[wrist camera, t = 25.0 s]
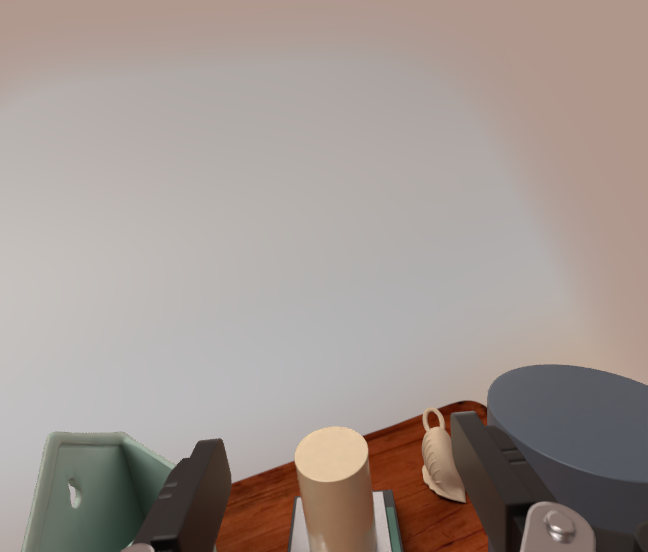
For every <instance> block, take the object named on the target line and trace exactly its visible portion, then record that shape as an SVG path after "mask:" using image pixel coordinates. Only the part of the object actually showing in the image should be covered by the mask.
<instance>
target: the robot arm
mask: <svg viewBox="0 0 648 552" xmlns="http://www.w3.org/2000/svg"><path fill="white" fill-rule="evenodd" d="M451 441H452V455H453V460H454V464H455V467H456V470H457V472H458V474H459V476H460V478H461V480H462V483H463V485H464V487H465V489H466V491H467V493H468V495H469V498H470V500H471V502H472V504H473V506H474V508H475V510H476V512H477V515H478V517H479V519H480V521H481V523H482V525H483V527H484V530H485V532H486V534H487V536H488V538H489V540H490V542H491V544H492V547H493V549H494V551H495V552H648V520H647V521H643V522H641V523H639V524H638V525H637V526H636V529H635V534H634V535H632V534H626V533H621V532H616V531H611V530H605V529H601V528H597V527H594V526H591V525H589V524H588V522H587V521H586V520H585V519H584V518H583V517H582V516H581V515H579V514H578V513H577V512H575V511H574V510H572V509H570V508H568V507H566V506H564V505H561V504H559V503H558V502H557V500H556V499H555V498H554V496H553V495H552V494H551V492H550V491H549V490H548V488H547V487H546V485H545V484H544V483H543V481H542V480H541V479H540V477H539V476H538V475H537V473H536V472H535V471H534V469H533V468H532V467H531V465H530V464H529V463H528V461H526V459H525V457H524V456H523V454H522V453H521V452H520V450H518V448H517V446H516V445H515V444H514V442H513V441H512V440H511V438H510V437H509V436H508V435H507V434H506V433H505V432H503V431H502V430H500V429H499V428H497V427H496V426H495V425H489V426H484V424H483V423H482V421H481V420H480V418H479V417H478V415H477V414H476V412H475V411H467V412H458V413H452V414H451ZM230 492H231V472H230V468H229V464H228V460H227V456H226V451H225V447H224V443H223V440H222V439H220V438H219V439H210V440H201V441H198V443H197V444H196V446H195V448H194V450H193V452H192V455H191V456H190V458H183V459H182V460H181V461H180V462H179V463H178V464H177V465H176V466H175V467H174V468H173V469H172V470H171V472H170V474H169V475H168V477H167V479H166V481H165V483H164V485H163V488H162V489H161V490H160V492H159V494H158V496H157V500H155V502H154V504H153V505H152V507H151V509H150V511H149V513H148V515H147V517H146V519H145V520H144V522H143V524H142V526H141V528H140V530H139V532H138V534H137V535H136V537H135V539H134V541H133V543H132V545H131V546H129V547H126V548H125V549H123V550H121V551H120V552H213V549H214V546H215V542H216V539H217V536H218V532H219V529H220V526H221V522H222V519H223V516H224V512H225V509H226V506H227V503H228V499H229V496H230Z"/></svg>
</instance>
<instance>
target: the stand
mask: <svg viewBox="0 0 648 552" xmlns="http://www.w3.org/2000/svg"><path fill="white" fill-rule="evenodd" d="M489 425H495V426H496V427H497V428H499V429H500V430H502V431H503V432H505V433H506V434H507V435H508V436H509V437H510V438H511V440H512V441H513V442H514V444H515V445H516V446H517V448H518V450H520V452H521V453H522V454H523V456H524V457H525V459H526V461H528V463H529V464H530V465H531V467H532V468H533V469H534V471H535V472H536V473H537V475H538V476H539V477H540V479H541V480H542V481H543V483H544V484H545V485H546V487H547V488H548V490H549V491H550V492H551V494H552V495H553V496H554V498H555V499H556V500H557V502H558V503H559V504H561V505H564V506H566V507H568V508H570V509H572V510H574V511H575V512H577V513H578V514H579V515H581V516H582V517H583V518H584V519H585V520H586V521H587V522H588V524H589V525H591V526H594V527H597V528H601V529H605V530H611V531H616V532H621V533H626V534H632V535H634V534H635V529H636V526H637V525H638V524H639V523H641V522H643V521H647V520H648V386H647V385H645V384H643V383H640V382H637V381H635V380H632V379H629V378H626V377H623V376H620V375H616V374H612V373H609V372H605V371H600V370H596V369H591V368H584V367H578V366H570V365H533V366H526V367H521V368H517V369H514V370H511V371H508V372H506V373H504V374H502V375H501V376H499V377H498V378H497V379H496V380H494V382H493V383H492V384H491V386H490V388H489V390H488V396H487V426H489ZM488 552H495V551H494V549H493V547H492V544H491V542H490V540H489V538H488Z"/></svg>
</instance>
